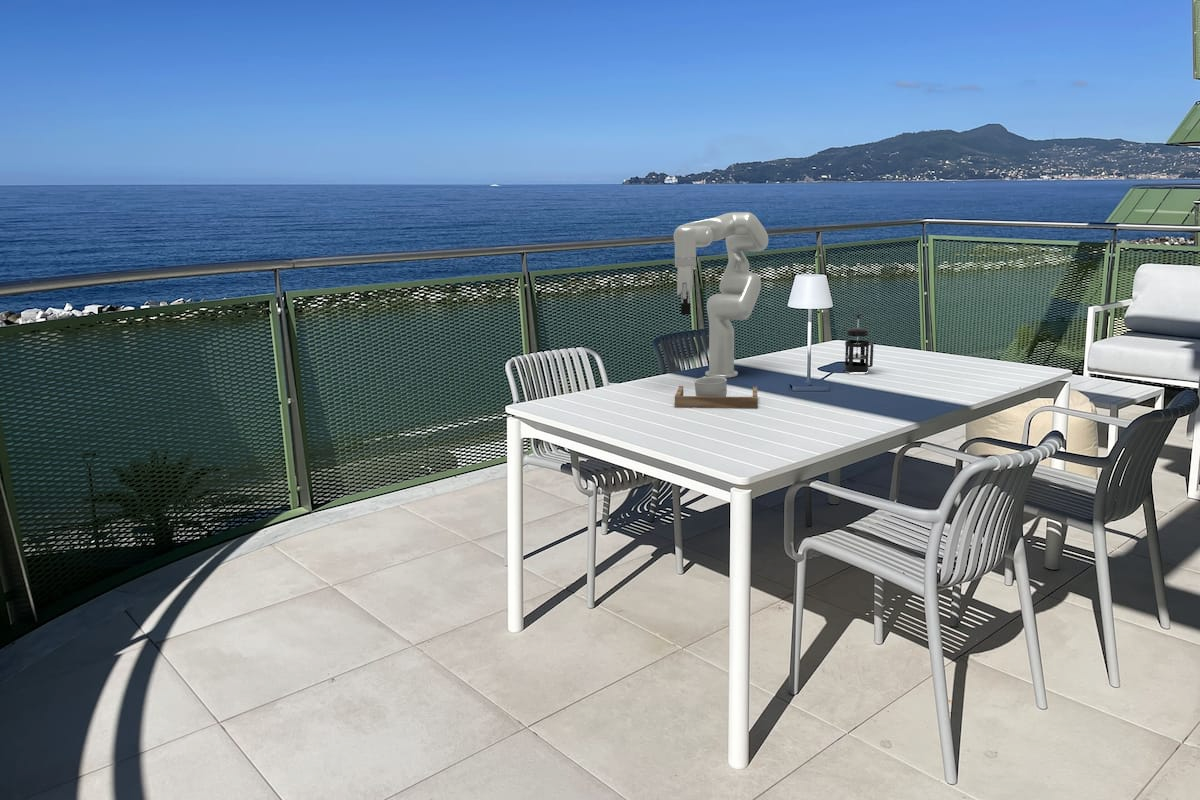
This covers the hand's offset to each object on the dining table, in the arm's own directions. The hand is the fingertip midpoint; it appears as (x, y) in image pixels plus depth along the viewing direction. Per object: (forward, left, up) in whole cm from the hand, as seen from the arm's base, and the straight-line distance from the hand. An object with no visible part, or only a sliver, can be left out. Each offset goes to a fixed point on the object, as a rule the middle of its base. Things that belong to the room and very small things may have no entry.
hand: (685, 314), depth 309 cm
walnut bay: (+21, +12, -27) cm, 36 cm away
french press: (-31, +64, -27) cm, 76 cm away
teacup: (+21, +10, -27) cm, 36 cm away
